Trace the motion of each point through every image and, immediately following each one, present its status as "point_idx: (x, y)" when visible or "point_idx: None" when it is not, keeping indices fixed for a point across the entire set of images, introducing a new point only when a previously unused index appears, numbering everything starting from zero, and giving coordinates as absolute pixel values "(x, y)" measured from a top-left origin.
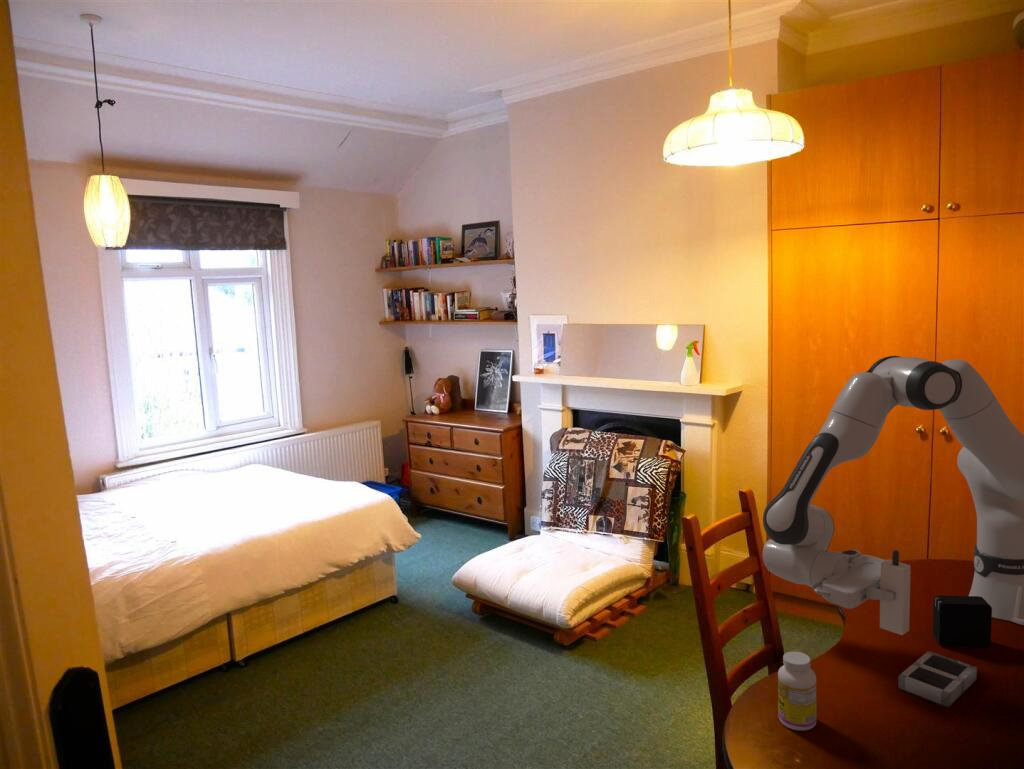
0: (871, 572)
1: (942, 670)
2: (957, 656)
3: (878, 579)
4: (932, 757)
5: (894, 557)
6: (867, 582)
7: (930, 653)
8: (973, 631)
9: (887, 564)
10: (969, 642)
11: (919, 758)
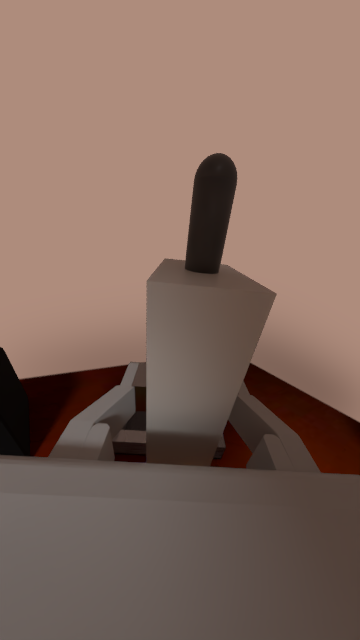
0: (50, 634)
1: (129, 424)
2: (67, 424)
3: (161, 464)
4: (285, 384)
5: (229, 217)
6: (312, 486)
7: (117, 434)
8: (19, 397)
9: (244, 279)
10: (26, 413)
11: (298, 390)
